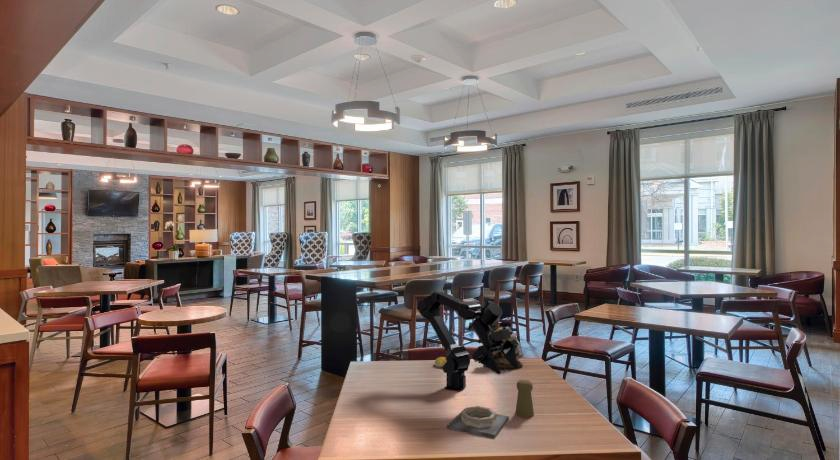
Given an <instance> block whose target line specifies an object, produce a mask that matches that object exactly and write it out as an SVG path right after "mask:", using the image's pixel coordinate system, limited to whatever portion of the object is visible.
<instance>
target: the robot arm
mask: <svg viewBox="0 0 840 460" xmlns="http://www.w3.org/2000/svg"><path fill="white" fill-rule="evenodd" d="M416 306H417V310H418V312H419V314H420V316H422V318H424V319H426V320H427V321H428V322H429V324H430V326H431V327H432V329H433V330H434V332H435V333H436V336H437V338H438V339H439V342H440V343H441V345H442V347H443V348H444V350H445V358H446V360H447V362H446V363H445V364H444V365H443V368H442V372H443V373H445V374H446V386H444V389H445V390H452V391H458V392H462V390H464V389H465V387H466V386H467V384H466V382H467V377H466V375H465V372H468V370H469V366H470V365H471V364H470V363H471V358H470V353H469V352H468V351H467V349H466V346H464V345H458V344H457V342H456V341H455V340H456V339H454V337H453V335H452V334H451V332H450V330H449V328H448V327H447V325H446V323H445V321H444V320H443V318H442V316H441V306H445V307H446V308H449V309H451V310H453V311H454V312H456V313H457V315H458V317H460V318H461V319H463V320H464V321H470V320H473V321H472V322H469V323H468V326H467V327H468V328H467V330H468V331H474V333H475V334H476V336H477V337H478V340H477V343H478V344H482V345H480V346H479V345H478V347H477V348H476V349H475V351H473V352H472V354H471V355H472V359H473V361H474V362H475V363H476V362H477V363H478V364H482V365H483V366H484V367H486V368H487V367H488V369H490V370H491V371H492V372H494V373H496V374H497V375H500V374H501V373H502V372H501V370H500V369H499V367H498V366H497V364H496V362H495V360H494V358H493V353H495V352H500V351H501V353H502V354H504V357H505V358H506V359H507V361H508V362H509V363H510V364H511V365H512V366H513V367H514V368H515V369H514V370H519V369H520V368H519V366H518V363H517V359H516V354H515V351H516V348H517V346H518V345H519V344H518V342H517V341H516V339H510V340H507V341H506V342H505V343H504V344H503V345H501V343H503V342H504V339H507V338H511V336H510V335H513V331H512V329H511V328H510V326H504V327H501V328H502V330H499V331H496V330H497V329H493V328H492V327H491V326H493V325H495V323H497V321H498V320H500V318H501V317H502V316H503V313H504V312H503V308H502V307H501V306H499V305H498V304H496V303H494V302H493V301H492V300H488V301H487V302H486V303H485V305H484V306H481V304H480V303H477V302H472V301H465V300H462V299H460V298H457V297H455V296H453V295H450V294H449V293H446V291H443V290H441V291H440V290H439V291H434V292H432V293H431V294H430V295H429V296H426V297H424V298H422V299H420V300H419V301H418V303H417V305H416ZM518 368H519V369H518Z"/></svg>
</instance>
